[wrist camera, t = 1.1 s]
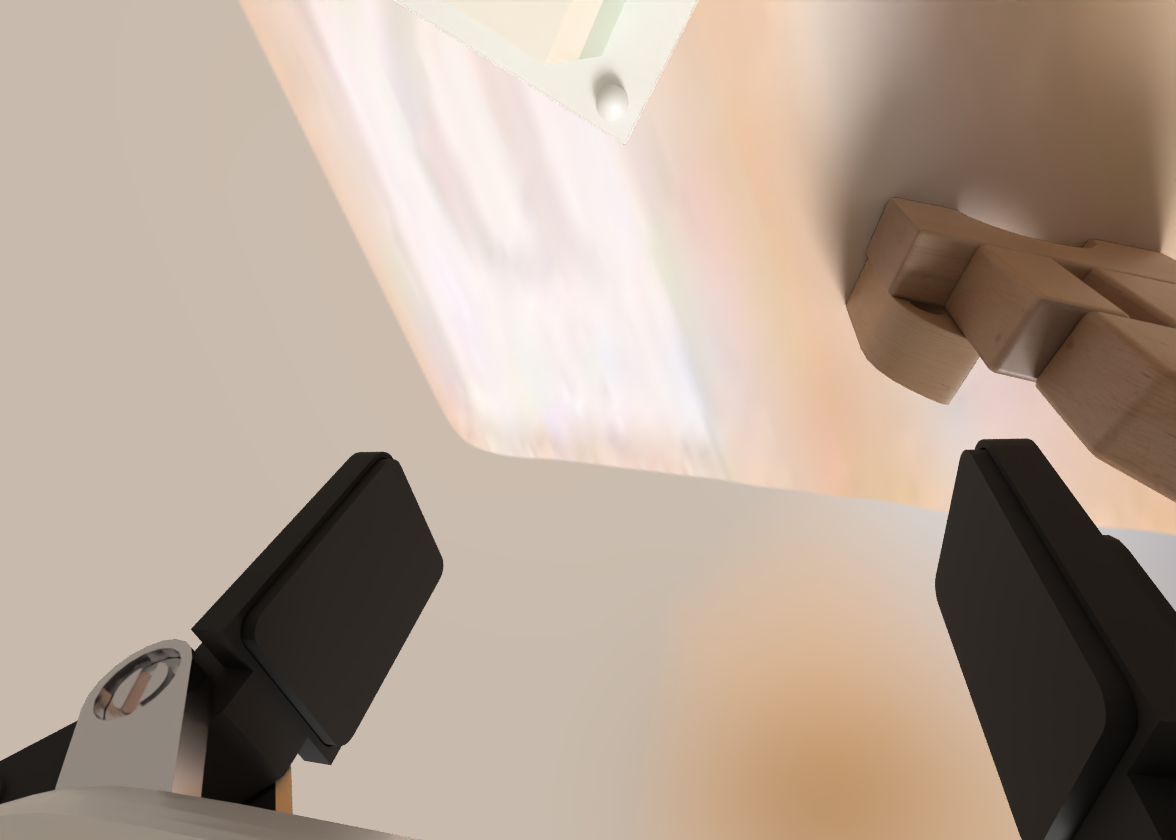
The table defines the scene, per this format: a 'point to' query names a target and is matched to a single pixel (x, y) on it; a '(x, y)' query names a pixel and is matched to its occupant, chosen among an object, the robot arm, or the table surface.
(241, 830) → the robot arm
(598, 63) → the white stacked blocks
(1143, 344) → the wooden toy
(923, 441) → the table surface
